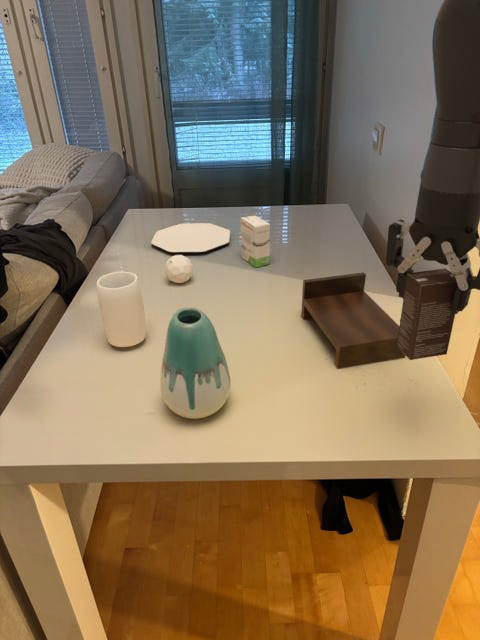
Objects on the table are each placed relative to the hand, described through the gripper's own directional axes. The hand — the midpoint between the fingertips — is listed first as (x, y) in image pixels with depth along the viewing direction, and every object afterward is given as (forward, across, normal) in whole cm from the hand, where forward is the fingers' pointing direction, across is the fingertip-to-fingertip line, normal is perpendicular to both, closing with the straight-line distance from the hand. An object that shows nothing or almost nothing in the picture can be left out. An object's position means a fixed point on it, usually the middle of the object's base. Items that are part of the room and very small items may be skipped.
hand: (428, 302), depth 64 cm
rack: (+21, +20, -16) cm, 33 cm away
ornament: (+21, +66, -11) cm, 70 cm away
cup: (+21, +54, +15) cm, 60 cm away
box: (+8, 0, 0) cm, 8 cm away
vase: (+21, +28, +19) cm, 40 cm away
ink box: (+21, +59, -33) cm, 71 cm away
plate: (+21, +84, -32) cm, 92 cm away
